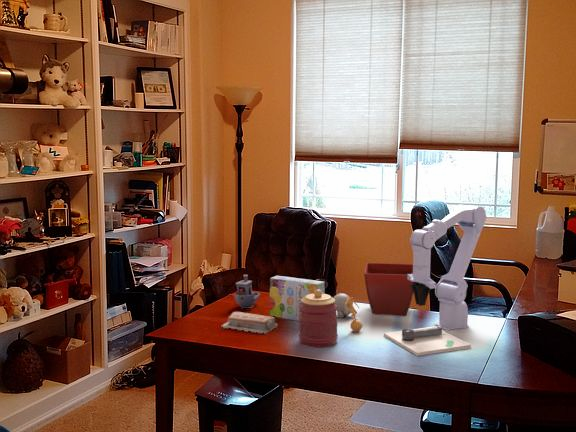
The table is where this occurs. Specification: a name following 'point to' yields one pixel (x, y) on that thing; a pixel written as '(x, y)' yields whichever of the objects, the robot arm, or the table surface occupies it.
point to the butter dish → (250, 322)
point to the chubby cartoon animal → (341, 304)
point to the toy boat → (245, 293)
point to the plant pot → (388, 288)
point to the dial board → (428, 343)
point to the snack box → (290, 295)
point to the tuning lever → (420, 333)
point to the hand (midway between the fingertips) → (420, 304)
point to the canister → (318, 320)
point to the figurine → (353, 315)
